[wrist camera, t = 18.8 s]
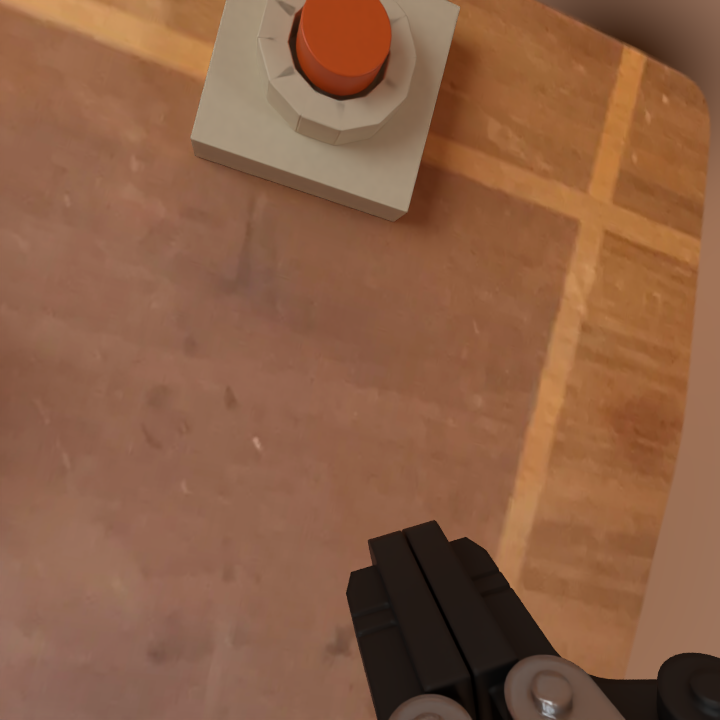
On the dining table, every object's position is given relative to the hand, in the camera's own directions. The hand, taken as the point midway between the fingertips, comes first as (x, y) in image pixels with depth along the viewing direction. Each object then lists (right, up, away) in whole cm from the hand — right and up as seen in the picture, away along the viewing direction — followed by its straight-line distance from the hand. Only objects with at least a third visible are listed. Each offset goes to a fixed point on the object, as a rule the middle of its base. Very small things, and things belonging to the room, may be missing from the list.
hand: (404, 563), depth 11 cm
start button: (-2, +17, +10) cm, 20 cm away
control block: (-3, +17, +14) cm, 22 cm away
